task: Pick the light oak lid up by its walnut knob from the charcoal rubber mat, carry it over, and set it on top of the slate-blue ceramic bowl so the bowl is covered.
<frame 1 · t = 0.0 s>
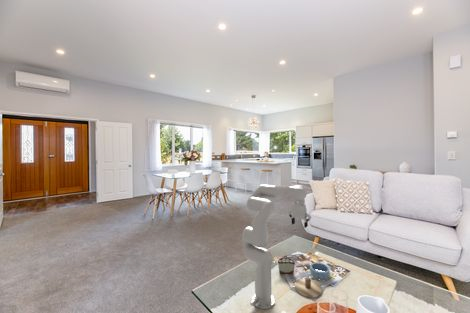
hand: (299, 225, 153), 31 cm above the table, tool pointing down, fingers open, 9 cm apart
mat: (308, 289, 131), on the table
lid: (308, 288, 131), point 1 cm above the table, touching mat
food container: (285, 273, 149), on the table
bowl: (319, 276, 144), on the table
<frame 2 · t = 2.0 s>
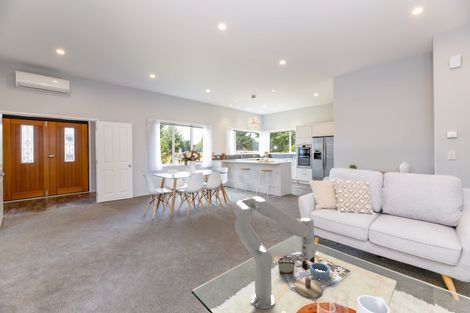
hand: (308, 265, 131), 16 cm above the table, tool pointing down, fingers open, 9 cm apart
nothing on the table moved.
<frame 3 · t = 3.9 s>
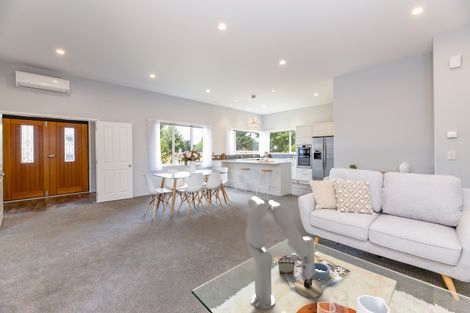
hand: (308, 285, 131), 3 cm above the table, tool pointing down, fingers closed on lid, 3 cm apart
lid: (308, 288, 131), point 1 cm above the table, touching gripper, mat
everything else where it was.
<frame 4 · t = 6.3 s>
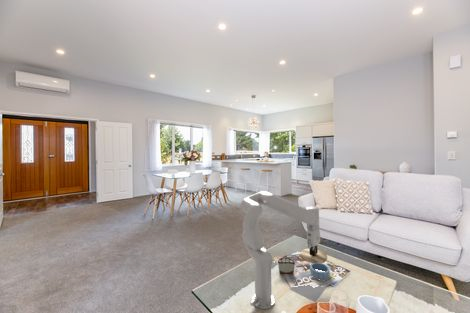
hand: (313, 253, 136), 20 cm above the table, tool pointing down, fingers closed on lid, 3 cm apart
lid: (313, 256, 136), point 18 cm above the table, touching gripper
everything else where it was.
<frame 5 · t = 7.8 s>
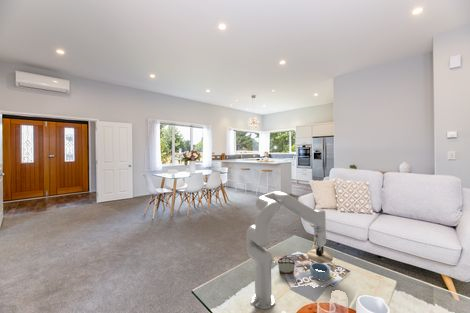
hand: (319, 254, 143), 15 cm above the table, tool pointing down, fingers closed on lid, 3 cm apart
lid: (319, 256, 144), point 14 cm above the table, touching gripper
everything else where it was.
when the fingers open (9 cm above the table, at t = 9.1 s): lid drops 1 cm, resting on bowl.
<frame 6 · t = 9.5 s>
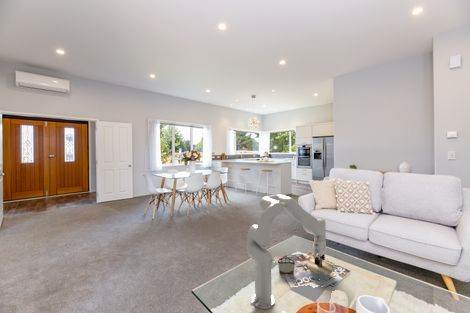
hand: (319, 262, 144), 10 cm above the table, tool pointing down, fingers open, 7 cm apart
lid: (319, 267, 144), point 6 cm above the table, touching bowl
everything else where it was.
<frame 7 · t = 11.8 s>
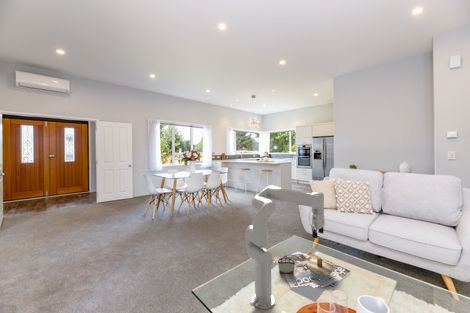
hand: (318, 235, 143), 28 cm above the table, tool pointing down, fingers open, 9 cm apart
nothing on the table moved.
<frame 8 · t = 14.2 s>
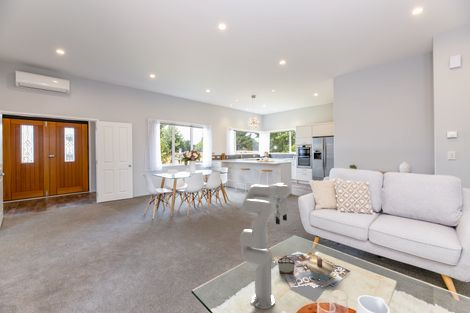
hand: (281, 222, 158), 32 cm above the table, tool pointing down, fingers open, 9 cm apart
nothing on the table moved.
at the end: lid 0.1 cm off-centre on the bowl, point 6.0 cm above the bowl's base; lid tilted 0°; lid touching bowl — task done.
